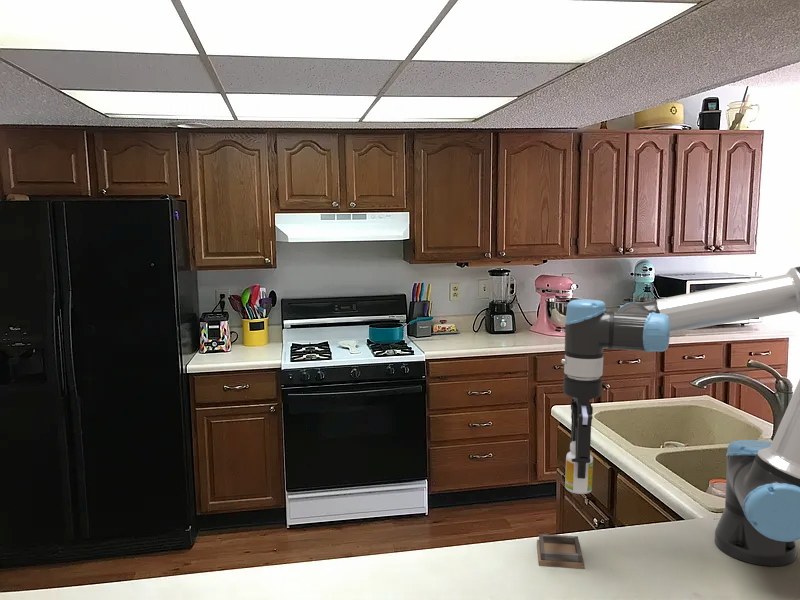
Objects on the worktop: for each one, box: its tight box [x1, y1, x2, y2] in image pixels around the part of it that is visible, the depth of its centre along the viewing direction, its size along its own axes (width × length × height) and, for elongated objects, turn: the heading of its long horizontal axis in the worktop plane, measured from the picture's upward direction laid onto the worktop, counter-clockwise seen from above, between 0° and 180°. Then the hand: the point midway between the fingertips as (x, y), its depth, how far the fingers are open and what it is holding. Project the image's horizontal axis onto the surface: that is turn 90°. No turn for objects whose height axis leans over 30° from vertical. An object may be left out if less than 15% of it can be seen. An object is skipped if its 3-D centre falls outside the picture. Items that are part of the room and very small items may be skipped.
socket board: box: [536, 533, 585, 569], centre depth 133 cm, size 9×9×2 cm
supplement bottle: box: [564, 441, 594, 495], centre depth 131 cm, size 5×5×10 cm
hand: (578, 485), depth 131 cm, fingers closed on supplement bottle, 5 cm apart
